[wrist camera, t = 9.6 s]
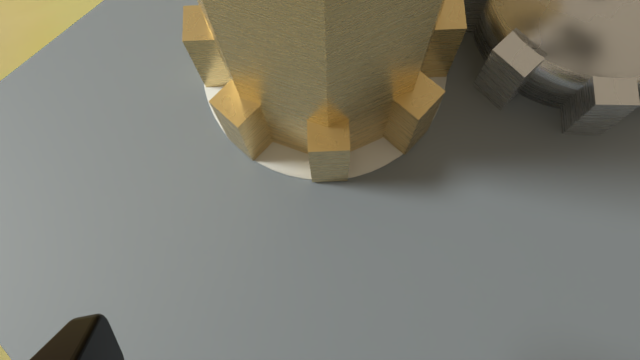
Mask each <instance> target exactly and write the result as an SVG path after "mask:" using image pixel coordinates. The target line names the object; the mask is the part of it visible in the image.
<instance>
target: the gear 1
mask: <svg viewBox="0 0 640 360" xmlns="http://www.w3.org/2000/svg"><path fill="white" fill-rule="evenodd" d="M197 1H198V4H199V5H189V6H183V31H182V42H183V44H184V46H185V48H186V50H187V52H188V53H189V55H190V57H191V59H192V61H193V63H194V65H195V67H196V69H197V71H198V73H199V75H200V77H201V79H202V81H203V83H204V85H205V86H206V87H221V86H224V87H223V88H222V89H221V90H220V91H219V92H218V93H217V94H216V95H215V96H214V97H213V98H212V99H210V100H209V103H210V105H211V107H212V109H213V111H214V113H215V115H216V116H217V118H218V120H219V122H220V124H221V126H222V128H223V129H224V131H225V133H226V135H227V137H228V139H229V140H230V141H231V142H232V143H234V144H235V145H236V146H237V147H238V148H239V149H240V150H241V151H242V152H243V153H244V154H246V155H247V156H248V157H249V158H250V159H251V160H252V161H254V160H255V159H256V158H257V157H258V156H259V155H260V154H261V153H262V152H263V151H264V150H265V149H266V148H267V147H268V146H269V145H270V144H271V143H272V142H275V143H278V144H281V145H283V146H286V147H289V148H292V149H295V150H298V151H301V152H303V153H306V154H308V157H309V164H310V171H311V178H312V182H332V181H348V172H349V161H350V152H351V151H354V150H356V149H358V148H360V147H363V146H365V145H367V144H369V143H372V142H374V141H376V140H378V139H381V138H383V137H384V138H385V139H386V140H387V141H389V142H390V143H391V144H392V145H393V146H395V147H396V148H397V149H398V150H399V151H400V152H402V153H403V154H404V155H405V154H406V153H407V152H408V151H409V150H410V149H411V148H412V147H413V146H414V145H415V144H416V143H417V142H418V141H419V139H420V138H421V137H422V136H423V135H424V134H425V133H426V132H427V131H428V129H429V127H430V125H431V122H432V120H433V118H434V116H435V114H436V111H437V109H438V107H439V105H440V103H441V100H442V98H443V96H444V94H445V92H446V91H445V90H443V89H442V88H441V87H440V86H438V85H437V84H436V83H435V82H434V81H432V80H431V79H430V78H429V77H446V76H447V74H448V71H449V69H450V67H451V65H452V62H453V60H454V58H455V55H456V53H457V51H458V48H459V46H460V44H461V41H462V39H463V37H464V34H465V32H466V30H467V23H466V15H465V6H464V0H197Z"/></svg>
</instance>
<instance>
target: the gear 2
mask: <svg viewBox="0 0 640 360" xmlns="http://www.w3.org/2000/svg"><path fill="white" fill-rule="evenodd" d="M464 6H465V15H466V23H467V30H466V32H465V33H473V36H474V40H475V43H476V45H477V47H478V50H479V52H480V54H481V55H482V57H483V59H484V60H485V64H484V66H483V67H482V69H481V71H480V73H479V75H478V76H477V78H476V80H475V82H474V84H473V86H474V87H475V88H476V89H477V90H478V91H479V92H480V93H482V94H483V95H484V96H485V97H486V98H487V99H488V100H489V101H491V102H492V103H493V104H494V105H495V106H496V107H497V108H498V109H499V110H501V109H502V108H503V107H504V106H506V105H507V104H508V103H509V102H510V101H511V100H512V99H513V98H514V97H515V96H516V95H517V94H518V93H519V94H521V95H523V96H524V97H526V98H528V99H531V100H533V101H535V102H537V103H540V104H543V105H546V106H549V107H553V108H558V109H560V118H561V129H562V134H567V135H602V134H603V133H604V132H605V131H607V130H608V129H609V128H611V127H612V126H613V125H615V124H616V123H617V122H619V121H620V120H621V119H623V118H624V117H625V116H627V115H628V114H629V113H631V112H632V111H633V110H635V109H636V108H637V107H639V106H640V99H639V97H640V0H464Z"/></svg>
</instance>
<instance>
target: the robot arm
mask: <svg viewBox="0 0 640 360" xmlns="http://www.w3.org/2000/svg"><path fill="white" fill-rule="evenodd" d="M30 360H124V356H123V353H122V351H121V349H120V346H119V344H118V342H117V340H116V337H115V335H114V333H113V330H112V328H111V326H110V324H109V321H108V320H107V318H106V317H105V316H104V315H102V314H99V313H97V314H92V315H87V316H82V317H77V318H74V319H72V320H70V321H69V322H68V323H67V324H66V325H65V326H64V327H63V328H62V329H61V330H60V331H59V332H58V333H57V334H56V335H55V336H53V337H52V338H51V339H50V340H49V341H48V342H47V343H46V344H45V345H44V346H43V347H42V348H41V349H40V350H39V351H38V352H37V353H36V354H35V355H34V356H33V357H32V358H31V359H30Z"/></svg>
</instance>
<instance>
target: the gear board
mask: <svg viewBox="0 0 640 360" xmlns="http://www.w3.org/2000/svg"><path fill="white" fill-rule="evenodd" d="M189 5H199V4H198V1H197V0H104V1H102V2H101V3H100V4H98V5H97V6H96V7H95V8H93V9H92V10H91V11H89V12H88V13H87V14H86V15H84V16H83V17H82V18H81V19H79V20H78V21H77V22H75V23H74V24H73V25H72V26H70V27H69V28H68V29H66V30H65V31H64V32H63V33H61V34H60V35H59V36H57V37H56V38H55V39H54V40H52V41H51V42H50V43H49V44H47V45H46V46H45V47H43V48H42V49H41V50H40V51H38V52H37V53H36V54H34V55H33V56H32V57H31V58H29V59H28V60H27V61H25V62H24V63H23V64H22V65H20V66H19V67H18V68H16V69H15V70H14V71H13V72H11V73H10V74H9V75H8V76H6V77H5V78H4V79H2V80H1V81H0V345H1V346H2V348H3V349H4V350H5V352H6V353H7V354H8V356H9V357H10V358H11V360H30V359H31V358H32V357H33V356H34V355H35V354H36V353H37V352H38V351H39V350H40V349H41V348H42V347H43V346H44V345H45V344H46V343H47V342H48V341H49V340H50V339H51V338H52V337H53V336H55V335H56V334H57V333H58V332H59V331H60V330H61V329H62V328H63V327H64V326H65V325H66V324H67V323H68V322H69V321H70V320H72V319H74V318H77V317H82V316H87V315H92V314H97V313H99V314H102V315H104V316H105V317H106V318H107V320H108V321H109V324H110V326H111V328H112V330H113V333H114V335H115V337H116V340H117V342H118V344H119V346H120V349H121V351H122V353H123V356H124V360H640V106H639V107H637V108H636V109H635V110H633V111H632V112H631V113H629V114H628V115H627V116H625V117H624V118H623V119H621V120H620V121H619V122H617V123H616V124H615V125H613V126H612V127H611V128H609V129H608V130H607V131H605V132H604V133H603V134H602V135H567V134H562V129H561V118H560V109H558V108H553V107H549V106H546V105H543V104H540V103H537V102H535V101H533V100H531V99H528V98H526V97H524V96H523V95H521V94H519V93H518V94H517V95H516V96H515V97H514V98H513V99H512V100H511V101H510V102H509V103H508V104H507V105H506V106H504V107H503V108H502V109H501V110H499V109H498V108H497V107H496V106H495V105H494V104H493V103H492V102H491V101H489V100H488V99H487V98H486V97H485V96H484V95H483V94H482V93H480V92H479V91H478V90H477V89H476V88H475V87H474V86H473V84H474V82H475V80H476V78H477V76H478V75H479V73H480V71H481V69H482V67H483V66H484V64H485V60H484V59H483V57H482V55H481V54H480V52H479V50H478V47H477V45H476V43H475V40H474V36H473V33H465V34H464V37H463V39H462V41H461V44H460V46H459V48H458V51H457V53H456V55H455V58H454V60H453V62H452V65H451V67H450V69H449V71H448V74H447V76H446V77H429V78H430V79H431V80H432V81H434V82H435V83H436V84H437V85H438V86H440V87H441V88H442V89H443V90H445V91H446V92H445V94H444V96H443V98H442V100H441V103H440V105H439V107H438V109H437V111H436V114H435V116H434V118H433V120H432V122H431V125H430V127H429V129H428V131H427V132H426V133H425V134H424V135H423V136H422V137H421V138H420V139H419V141H418V142H417V143H416V144H415V145H414V146H413V147H412V148H411V149H410V150H409V151H408V152H407V153H406V154H405V155H404V154H403V153H402V152H400V151H399V150H398V149H397V148H396V147H395V146H393V145H392V144H391V143H390V142H389V141H387V140H386V139H385V138H384V137H383V138H381V139H378V140H376V141H374V142H372V143H369V144H367V145H365V146H363V147H360V148H358V149H356V150H354V151H351V152H350V161H349V172H348V181H332V182H312V178H311V171H310V164H309V157H308V154H306V153H303V152H301V151H298V150H295V149H292V148H289V147H286V146H283V145H281V144H278V143H275V142H272V143H271V144H270V145H269V146H268V147H267V148H266V149H265V150H264V151H263V152H262V153H261V154H260V155H259V156H258V157H257V158H256V159H255V160H254V161H252V160H251V159H250V158H249V157H248V156H247V155H246V154H244V153H243V152H242V151H241V150H240V149H239V148H238V147H237V146H236V145H235V144H234V143H232V142H231V141H230V140H229V139H228V137H227V135H226V133H225V131H224V129H223V128H222V126H221V124H220V122H219V120H218V118H217V116H216V115H215V113H214V111H213V109H212V107H211V105H210V103H209V100H210V99H212V98H213V97H214V96H215V95H216V94H217V93H218V92H219V91H220V90H221V89H222V88H223V87H224V86H221V87H206V86H205V85H204V83H203V81H202V79H201V77H200V75H199V73H198V71H197V69H196V67H195V65H194V63H193V61H192V59H191V57H190V55H189V53H188V52H187V50H186V48H185V46H184V44H183V42H182V31H183V6H189ZM639 99H640V97H639Z"/></svg>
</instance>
